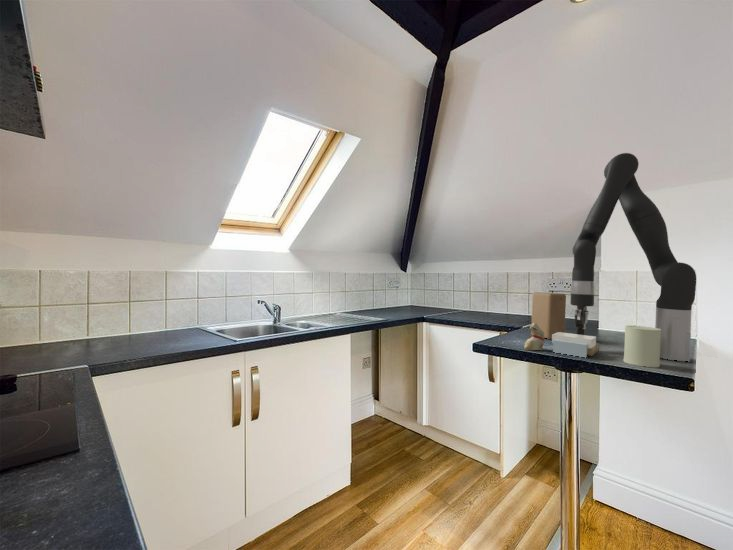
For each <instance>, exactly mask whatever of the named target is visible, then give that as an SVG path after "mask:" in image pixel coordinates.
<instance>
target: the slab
mask: <svg viewBox="0 0 733 550" xmlns="http://www.w3.org/2000/svg"><path fill="white" fill-rule="evenodd" d="M553 340H562V341H569V342H576V343H583V344H588V348H590V349H591V348H593V347H594V346H595V345H596V343H597V336H595V335H594V336H593V335H586V334H585V335H579V334H576V333H570V332H565V333H563V332H557V333H555V334H552V339H551V344H553Z"/></svg>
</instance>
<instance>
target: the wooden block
mask: <svg viewBox="0 0 733 550" xmlns="http://www.w3.org/2000/svg"><path fill="white" fill-rule="evenodd" d="M531 300H532V303H531V325H530V326H532V324H533V323H536V324H537V325H538V327H539V328H540V329H541V330H542V331H544V336H545V338H547V339H546V340H552V334H555V333H557V332H563V333H566V331H565V330H566V307H567V304H566V303H567V295H566V294H565V293H558V292H540V291H539V292H535V291H534V292H533V293H532V299H531ZM530 335H531V336H533V333H532V331H531V330H530Z"/></svg>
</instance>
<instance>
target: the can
mask: <svg viewBox="0 0 733 550" xmlns="http://www.w3.org/2000/svg"><path fill="white" fill-rule="evenodd" d="M660 336H661V329H658V328H655V327H651V326H641V325H625V326H624V348H623V349H624V350H623V351H624V352H623V360H622V362H624V363H626V364H629V365H632V366H638V367H643V366H646V367H645V368H660V367H661V365H660V364H661V363H660V359H661V358H660ZM659 366H660V367H659Z"/></svg>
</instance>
